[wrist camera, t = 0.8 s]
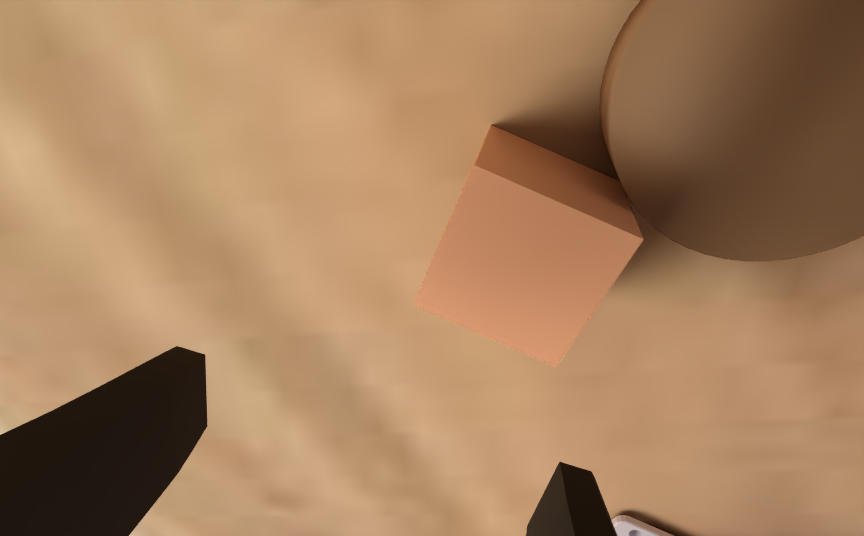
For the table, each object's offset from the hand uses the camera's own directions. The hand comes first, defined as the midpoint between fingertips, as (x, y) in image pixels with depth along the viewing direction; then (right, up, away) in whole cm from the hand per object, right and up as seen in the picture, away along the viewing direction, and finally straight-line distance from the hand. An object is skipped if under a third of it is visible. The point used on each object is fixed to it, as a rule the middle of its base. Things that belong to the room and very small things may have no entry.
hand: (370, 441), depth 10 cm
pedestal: (+10, +9, +4) cm, 14 cm away
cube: (+4, +5, +7) cm, 10 cm away
